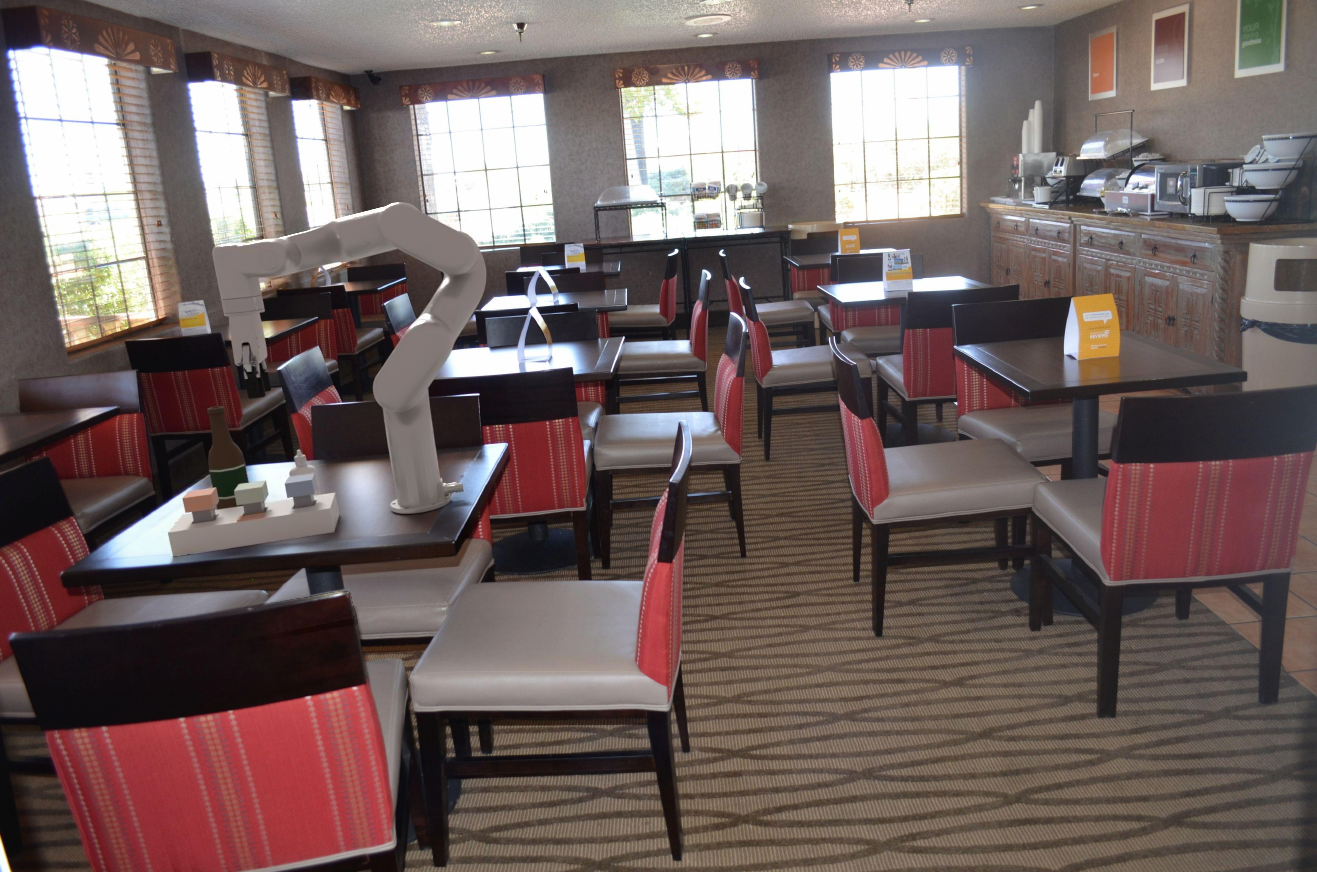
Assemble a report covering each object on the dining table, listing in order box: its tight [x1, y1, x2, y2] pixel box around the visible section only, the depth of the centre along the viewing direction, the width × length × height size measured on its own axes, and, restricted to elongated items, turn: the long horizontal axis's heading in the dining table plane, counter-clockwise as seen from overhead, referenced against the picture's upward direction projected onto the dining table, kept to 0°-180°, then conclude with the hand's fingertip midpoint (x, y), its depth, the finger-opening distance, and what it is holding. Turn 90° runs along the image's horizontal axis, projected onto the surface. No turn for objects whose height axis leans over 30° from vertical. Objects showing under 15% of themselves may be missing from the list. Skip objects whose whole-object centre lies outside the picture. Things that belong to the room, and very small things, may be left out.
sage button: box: [234, 480, 269, 515], centre depth 192 cm, size 5×5×8 cm
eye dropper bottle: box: [288, 449, 321, 496], centre depth 213 cm, size 4×6×12 cm
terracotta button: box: [182, 487, 219, 524], centre depth 190 cm, size 5×5×8 cm
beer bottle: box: [206, 405, 250, 510], centre depth 208 cm, size 8×8×24 cm
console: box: [167, 492, 340, 557], centre depth 193 cm, size 30×12×5 cm, turn 103°
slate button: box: [284, 473, 317, 509], centre depth 194 cm, size 5×5×8 cm
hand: (260, 393), depth 193 cm, fingers open, 6 cm apart
